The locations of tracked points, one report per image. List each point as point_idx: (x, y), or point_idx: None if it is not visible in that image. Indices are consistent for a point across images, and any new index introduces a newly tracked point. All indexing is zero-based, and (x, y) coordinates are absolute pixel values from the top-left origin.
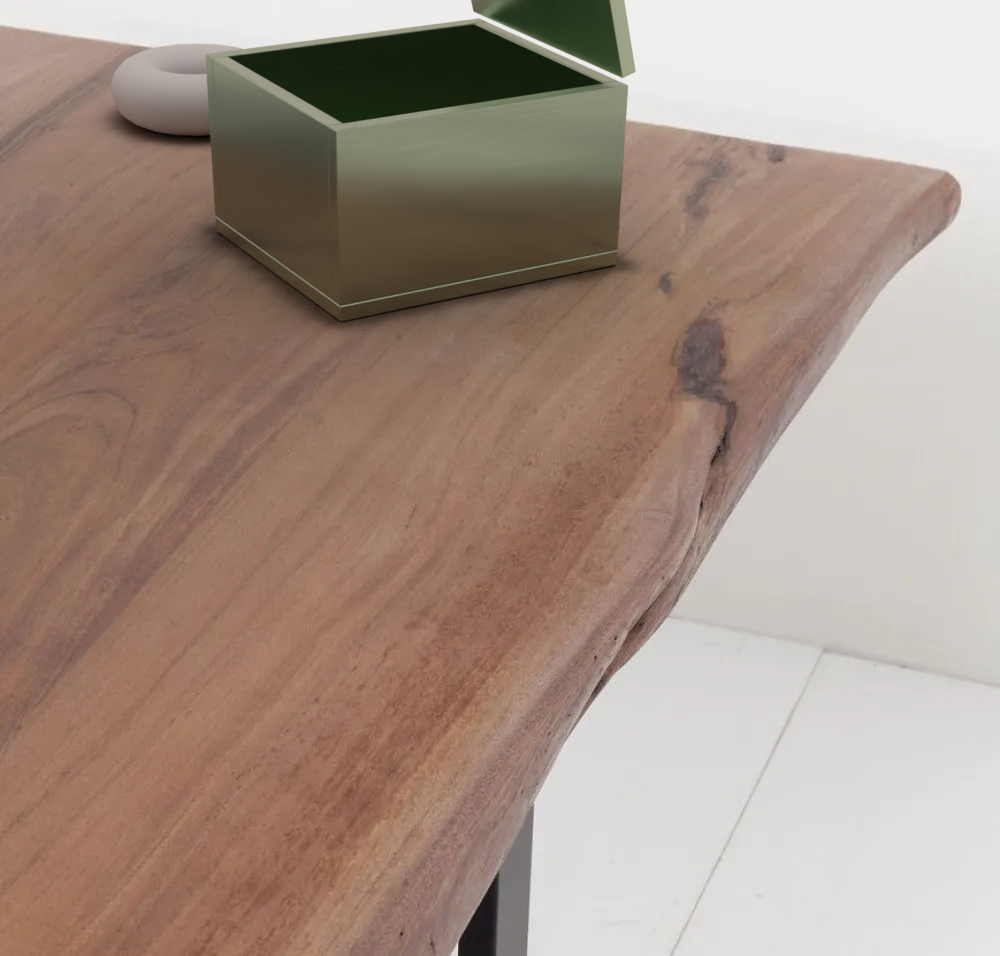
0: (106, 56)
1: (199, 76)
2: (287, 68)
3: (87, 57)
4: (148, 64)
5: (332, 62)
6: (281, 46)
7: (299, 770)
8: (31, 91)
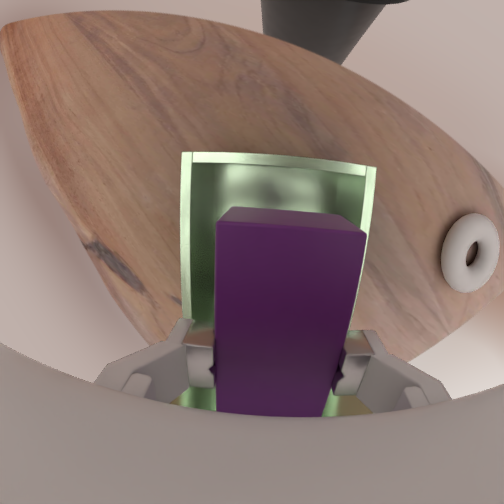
0: None
1: (464, 245)
2: (356, 219)
3: None
4: (487, 236)
5: None
6: (365, 221)
7: (27, 62)
8: None
